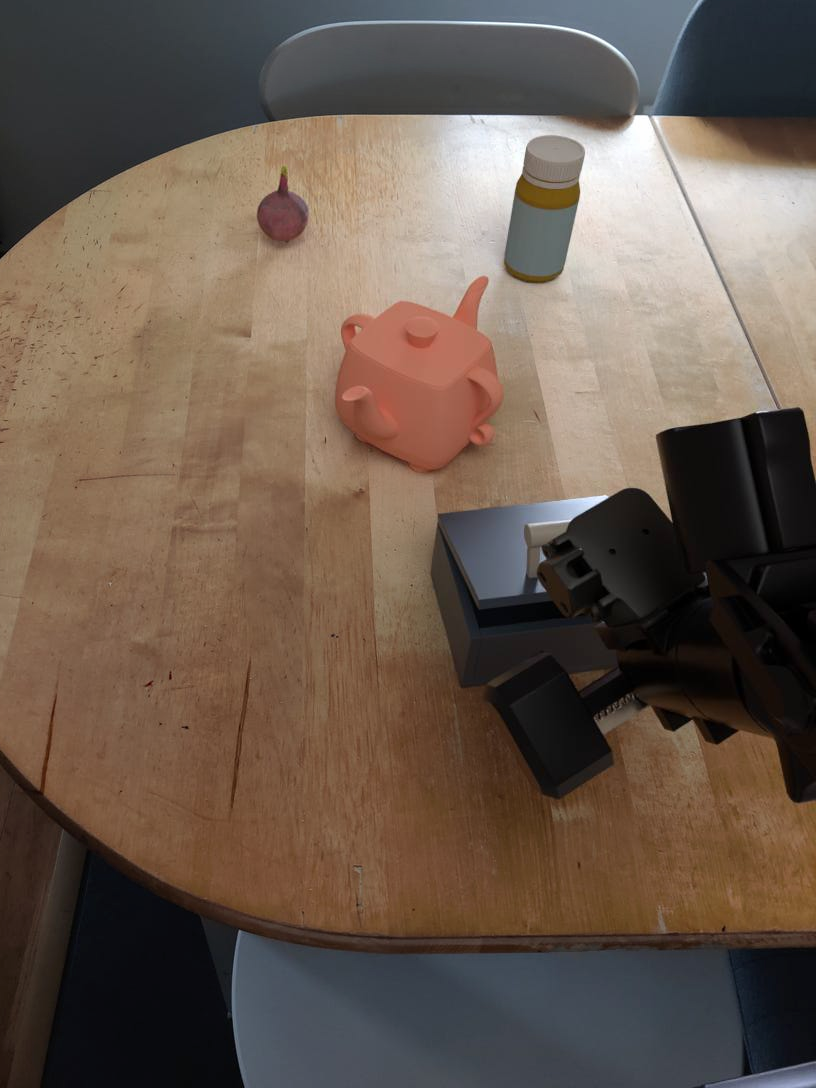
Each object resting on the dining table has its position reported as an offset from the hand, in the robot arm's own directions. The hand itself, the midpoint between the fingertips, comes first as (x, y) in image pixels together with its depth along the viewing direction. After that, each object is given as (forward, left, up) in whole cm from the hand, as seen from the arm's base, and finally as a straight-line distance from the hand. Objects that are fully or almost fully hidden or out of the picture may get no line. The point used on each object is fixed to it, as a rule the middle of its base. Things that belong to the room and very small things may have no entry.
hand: (600, 645), depth 54 cm
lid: (+8, -6, -4) cm, 11 cm away
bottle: (+38, -45, -13) cm, 61 cm away
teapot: (+29, -15, -13) cm, 35 cm away
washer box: (+8, -6, -13) cm, 16 cm away
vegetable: (+62, -27, -13) cm, 69 cm away
